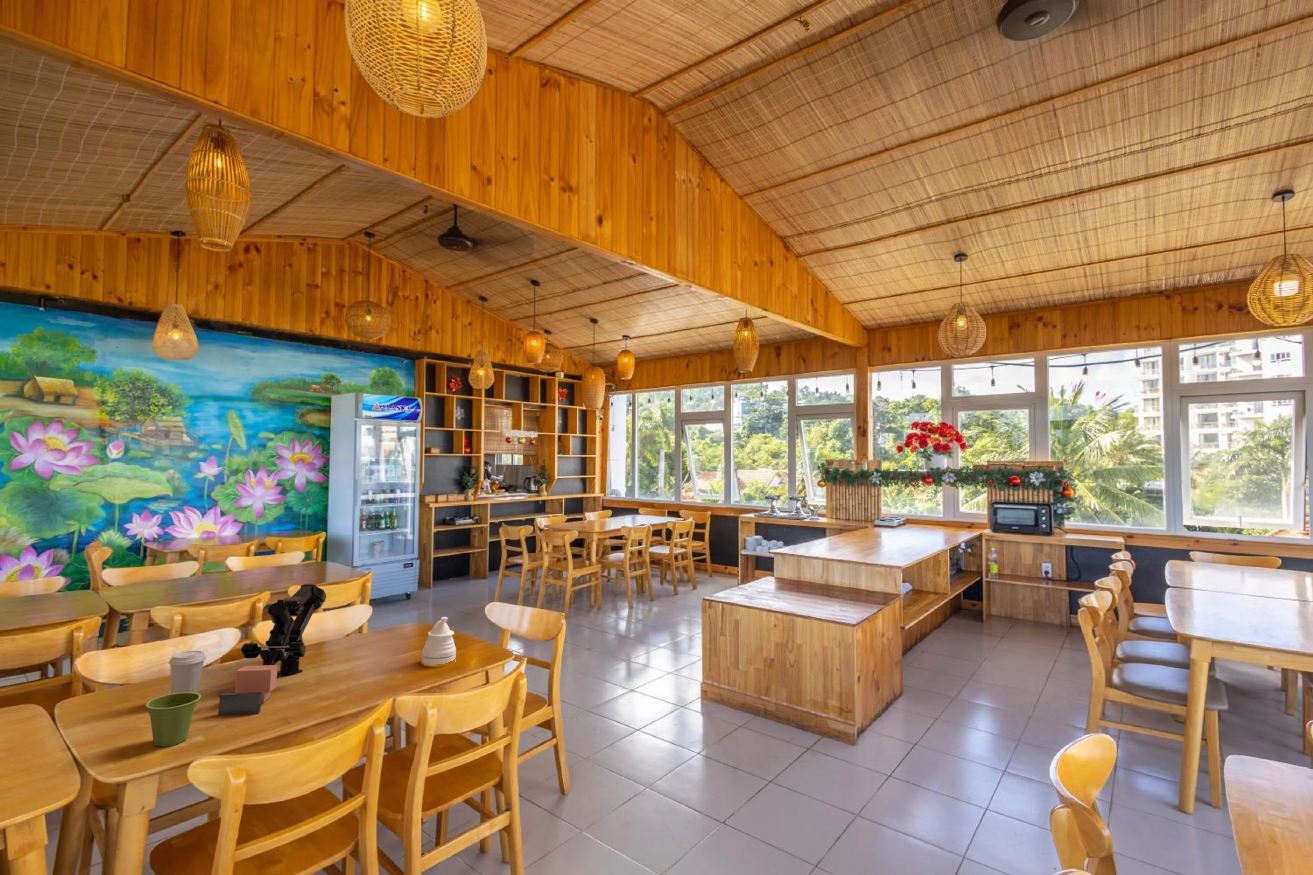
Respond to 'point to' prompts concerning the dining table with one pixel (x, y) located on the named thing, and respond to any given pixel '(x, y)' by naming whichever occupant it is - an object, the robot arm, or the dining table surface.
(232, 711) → the dark grey block
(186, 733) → the plant pot
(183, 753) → the dining table surface
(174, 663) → the coffee cup
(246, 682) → the reddish brown stepped block
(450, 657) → the honey pot
